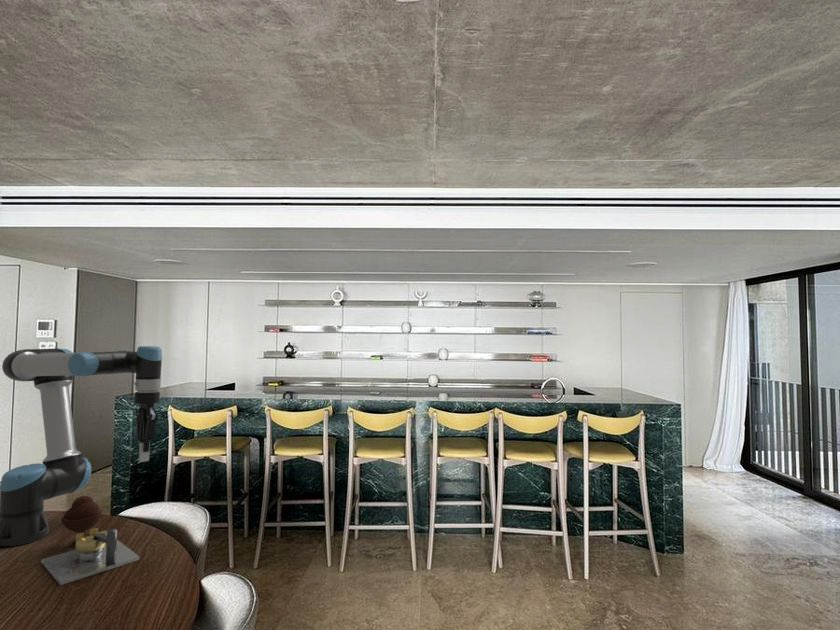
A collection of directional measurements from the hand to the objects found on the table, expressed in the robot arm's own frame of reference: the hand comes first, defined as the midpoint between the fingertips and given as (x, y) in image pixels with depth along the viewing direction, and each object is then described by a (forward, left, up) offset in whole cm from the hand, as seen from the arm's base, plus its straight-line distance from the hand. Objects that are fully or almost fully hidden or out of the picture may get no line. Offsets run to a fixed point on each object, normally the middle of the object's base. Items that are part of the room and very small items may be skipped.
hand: (143, 461), depth 162 cm
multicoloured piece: (+8, -15, -25) cm, 30 cm away
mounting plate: (+5, -16, -27) cm, 31 cm away
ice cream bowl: (-12, -14, -27) cm, 32 cm away
